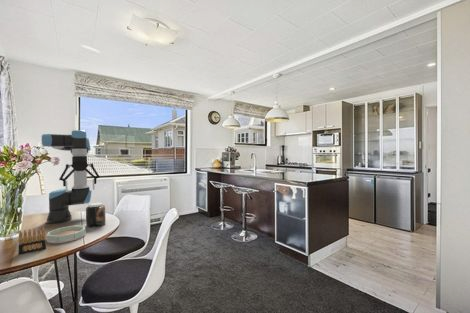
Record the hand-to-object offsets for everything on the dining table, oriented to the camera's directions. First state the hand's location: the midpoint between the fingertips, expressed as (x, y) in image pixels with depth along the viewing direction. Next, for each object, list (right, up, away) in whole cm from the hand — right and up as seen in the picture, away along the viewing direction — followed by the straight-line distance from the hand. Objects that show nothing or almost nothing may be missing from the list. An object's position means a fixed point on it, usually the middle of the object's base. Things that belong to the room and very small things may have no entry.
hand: (80, 190), depth 138 cm
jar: (-4, -28, +22) cm, 36 cm away
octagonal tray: (-7, -28, -1) cm, 29 cm away
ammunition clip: (-11, -29, -20) cm, 37 cm away
